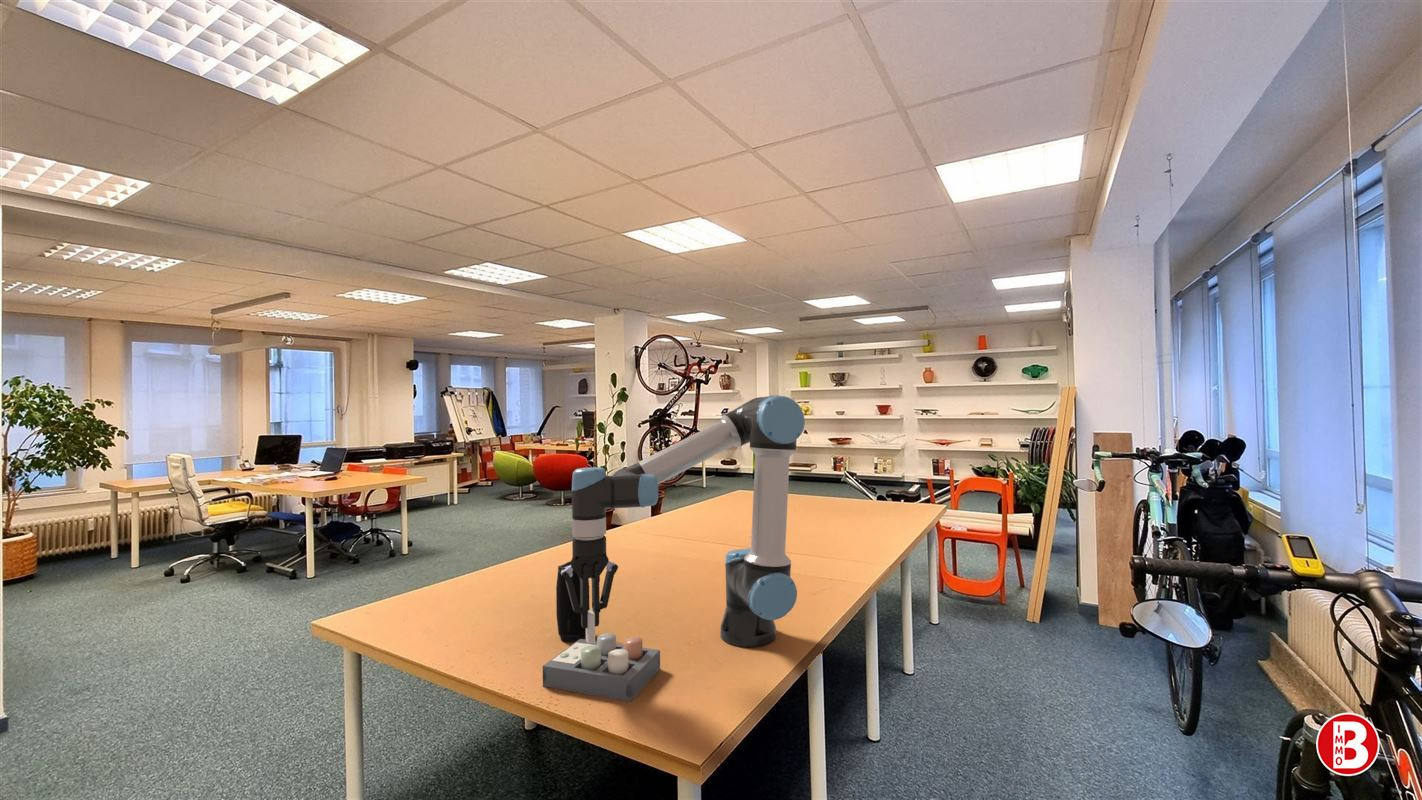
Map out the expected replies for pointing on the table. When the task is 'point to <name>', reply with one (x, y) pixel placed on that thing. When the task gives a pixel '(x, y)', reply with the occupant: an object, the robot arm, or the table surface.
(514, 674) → the table surface
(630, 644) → the button terracotta
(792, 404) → the robot arm
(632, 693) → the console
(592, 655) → the button sage
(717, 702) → the table surface
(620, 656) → the button ivory
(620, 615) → the table surface
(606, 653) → the button grey
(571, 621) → the portable speaker
